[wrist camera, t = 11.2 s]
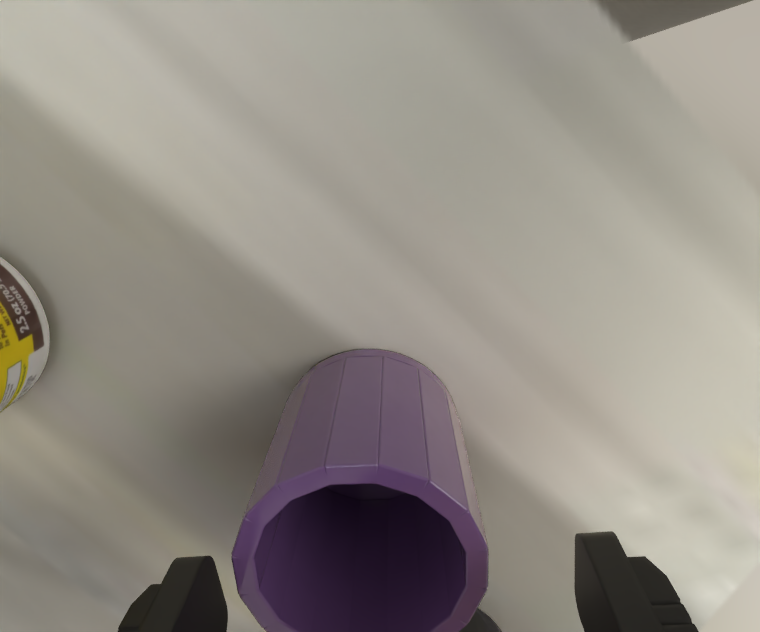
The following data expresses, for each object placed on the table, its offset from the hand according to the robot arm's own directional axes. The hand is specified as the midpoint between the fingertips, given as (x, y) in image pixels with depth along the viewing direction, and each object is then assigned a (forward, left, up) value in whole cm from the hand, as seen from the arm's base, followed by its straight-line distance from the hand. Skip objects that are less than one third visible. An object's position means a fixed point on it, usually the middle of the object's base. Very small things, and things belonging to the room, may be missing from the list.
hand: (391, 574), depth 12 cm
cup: (+1, 0, -6) cm, 6 cm away
